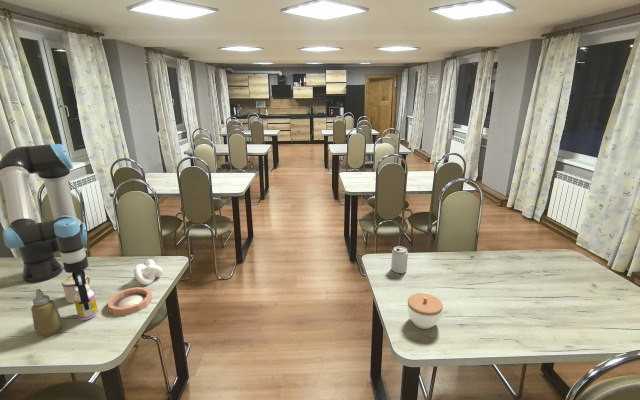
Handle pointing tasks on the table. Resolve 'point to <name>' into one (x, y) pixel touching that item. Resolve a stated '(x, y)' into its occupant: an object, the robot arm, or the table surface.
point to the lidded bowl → (424, 310)
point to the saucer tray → (130, 301)
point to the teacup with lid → (71, 287)
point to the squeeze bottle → (45, 315)
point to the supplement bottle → (79, 306)
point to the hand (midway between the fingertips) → (87, 311)
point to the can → (399, 259)
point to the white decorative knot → (147, 272)
